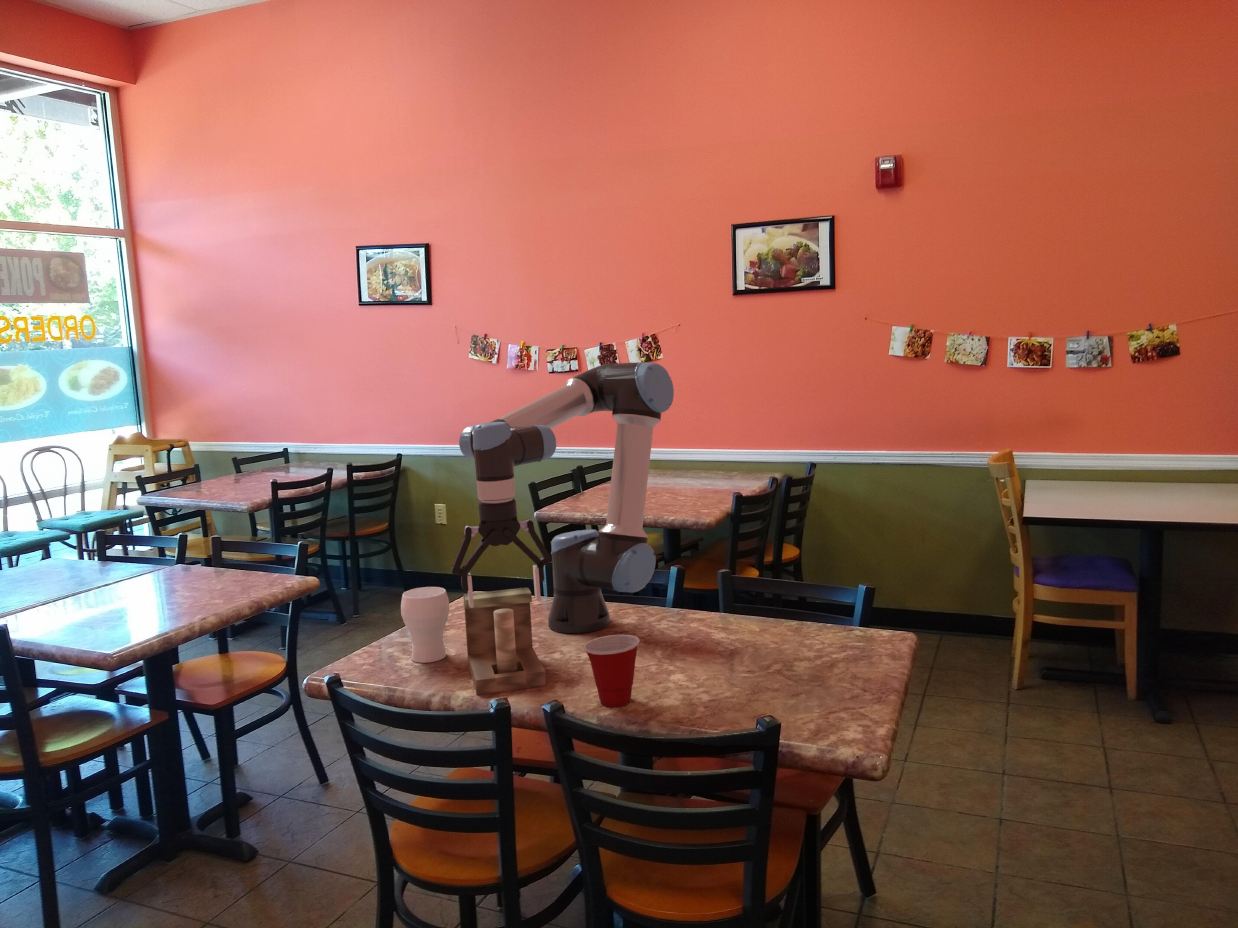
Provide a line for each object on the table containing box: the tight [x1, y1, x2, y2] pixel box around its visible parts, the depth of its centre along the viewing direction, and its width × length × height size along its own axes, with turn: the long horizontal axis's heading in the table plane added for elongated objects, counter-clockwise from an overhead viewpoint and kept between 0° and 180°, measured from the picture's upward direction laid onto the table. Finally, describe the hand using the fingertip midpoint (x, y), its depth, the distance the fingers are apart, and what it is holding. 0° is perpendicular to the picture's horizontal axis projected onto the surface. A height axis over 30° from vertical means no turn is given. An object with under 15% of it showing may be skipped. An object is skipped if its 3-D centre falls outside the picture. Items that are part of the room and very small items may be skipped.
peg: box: [494, 608, 517, 674], centre depth 189 cm, size 4×4×15 cm
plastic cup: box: [582, 634, 640, 708], centre depth 176 cm, size 11×11×12 cm
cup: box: [400, 586, 450, 664], centre depth 206 cm, size 11×11×15 cm
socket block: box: [463, 587, 547, 696], centre depth 193 cm, size 14×18×16 cm
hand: (504, 601), depth 188 cm, fingers open, 13 cm apart
